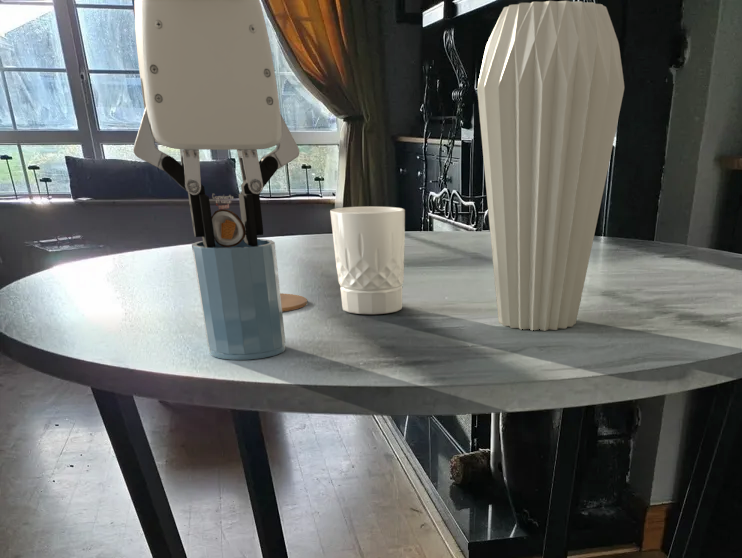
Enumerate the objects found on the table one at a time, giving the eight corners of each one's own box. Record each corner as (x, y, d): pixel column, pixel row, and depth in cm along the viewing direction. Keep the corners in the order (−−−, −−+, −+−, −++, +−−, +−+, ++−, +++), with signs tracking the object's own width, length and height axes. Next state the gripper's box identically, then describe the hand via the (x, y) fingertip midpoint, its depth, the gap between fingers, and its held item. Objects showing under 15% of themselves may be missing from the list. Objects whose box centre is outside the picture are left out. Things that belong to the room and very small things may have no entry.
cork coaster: (224, 316, 84) (224, 312, 84) (213, 300, 92) (212, 296, 91) (315, 309, 87) (315, 305, 87) (297, 294, 95) (297, 290, 95)
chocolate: (254, 244, 67) (248, 192, 65) (244, 248, 65) (238, 194, 63) (221, 243, 68) (214, 191, 66) (211, 247, 66) (203, 194, 64)
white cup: (397, 300, 91) (394, 205, 86) (415, 313, 85) (413, 211, 80) (331, 304, 89) (324, 207, 84) (344, 318, 83) (337, 214, 78)
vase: (541, 343, 73) (562, -10, 59) (446, 321, 81) (446, 8, 68) (627, 323, 81) (663, 6, 67) (532, 304, 89) (547, 20, 75)
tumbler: (214, 363, 67) (196, 250, 63) (205, 345, 73) (188, 240, 68) (292, 355, 69) (280, 245, 65) (277, 339, 75) (266, 236, 70)
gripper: (296, -14, 62) (314, 237, 72) (76, -29, 57) (127, 244, 67) (317, -28, 56) (334, 248, 66) (74, -46, 51) (131, 255, 61)
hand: (230, 243), depth 66 cm, fingers closed on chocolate, 2 cm apart
